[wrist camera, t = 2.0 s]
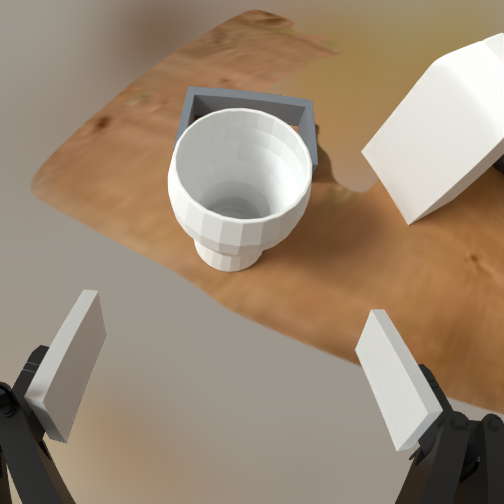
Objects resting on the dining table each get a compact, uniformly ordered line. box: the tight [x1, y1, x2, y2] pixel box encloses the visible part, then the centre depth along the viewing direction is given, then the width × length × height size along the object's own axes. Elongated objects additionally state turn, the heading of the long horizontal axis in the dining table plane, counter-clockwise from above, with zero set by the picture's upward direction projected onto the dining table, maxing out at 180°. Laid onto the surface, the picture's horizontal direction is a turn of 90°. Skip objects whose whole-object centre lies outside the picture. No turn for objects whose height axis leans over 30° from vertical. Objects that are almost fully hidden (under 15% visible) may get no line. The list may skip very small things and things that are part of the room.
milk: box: [362, 33, 504, 225], centre depth 29 cm, size 12×12×26 cm
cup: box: [168, 108, 312, 272], centre depth 28 cm, size 11×11×15 cm
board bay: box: [173, 87, 318, 175], centre depth 37 cm, size 16×10×4 cm, turn 87°
